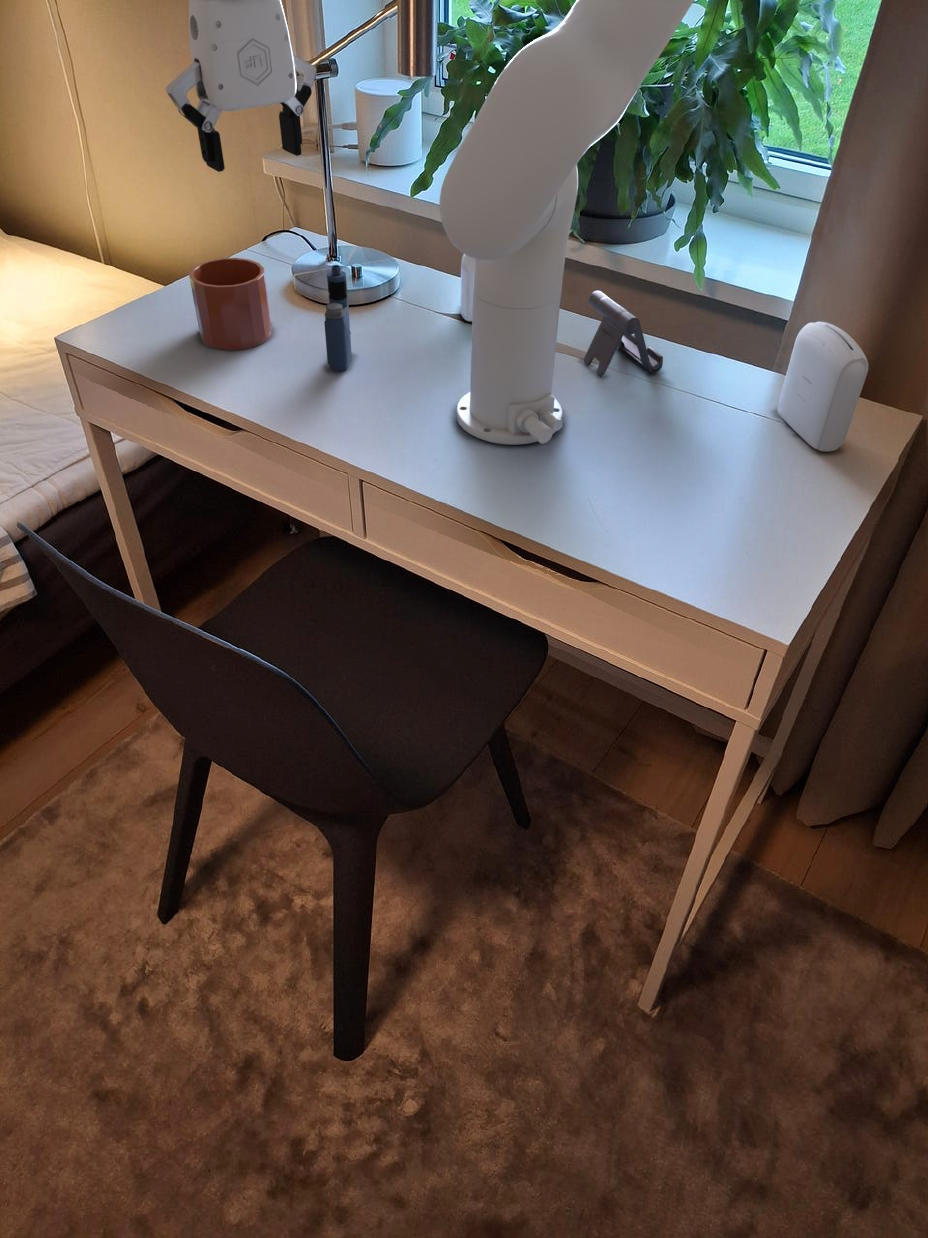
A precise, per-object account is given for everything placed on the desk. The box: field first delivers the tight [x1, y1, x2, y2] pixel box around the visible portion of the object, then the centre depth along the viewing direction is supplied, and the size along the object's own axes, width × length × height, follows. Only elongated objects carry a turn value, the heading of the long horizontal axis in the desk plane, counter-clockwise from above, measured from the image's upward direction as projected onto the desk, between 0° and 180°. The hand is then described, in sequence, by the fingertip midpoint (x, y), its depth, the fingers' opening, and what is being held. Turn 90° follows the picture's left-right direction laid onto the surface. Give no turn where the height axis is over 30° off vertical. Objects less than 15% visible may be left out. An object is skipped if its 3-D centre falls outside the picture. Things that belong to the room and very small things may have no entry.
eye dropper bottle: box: [459, 253, 475, 322], centre depth 127 cm, size 4×6×12 cm
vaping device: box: [323, 264, 353, 372], centre depth 115 cm, size 3×5×12 cm, turn 174°
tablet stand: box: [583, 290, 664, 377], centre depth 118 cm, size 9×8×8 cm
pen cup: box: [189, 257, 273, 351], centre depth 122 cm, size 9×9×8 cm
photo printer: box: [777, 321, 869, 452], centre depth 106 cm, size 10×4×12 cm, turn 14°
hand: (254, 160), depth 104 cm, fingers open, 9 cm apart
